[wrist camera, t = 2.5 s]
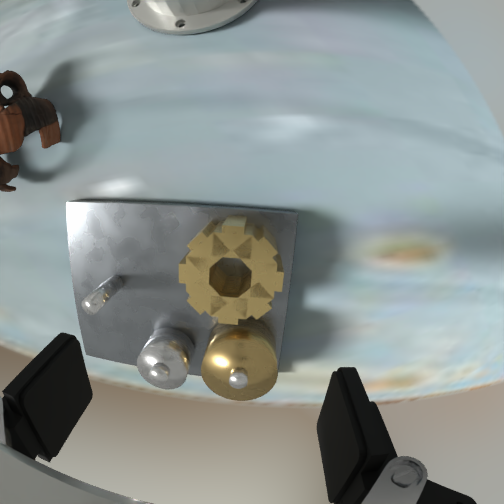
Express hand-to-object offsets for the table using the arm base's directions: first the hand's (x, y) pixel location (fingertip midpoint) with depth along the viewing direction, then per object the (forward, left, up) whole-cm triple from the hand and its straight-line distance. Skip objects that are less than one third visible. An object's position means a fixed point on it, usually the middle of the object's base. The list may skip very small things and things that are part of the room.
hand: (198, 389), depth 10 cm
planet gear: (0, 0, -15) cm, 15 cm away
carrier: (+6, +1, -16) cm, 18 cm away
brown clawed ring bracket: (+15, -20, -17) cm, 30 cm away
